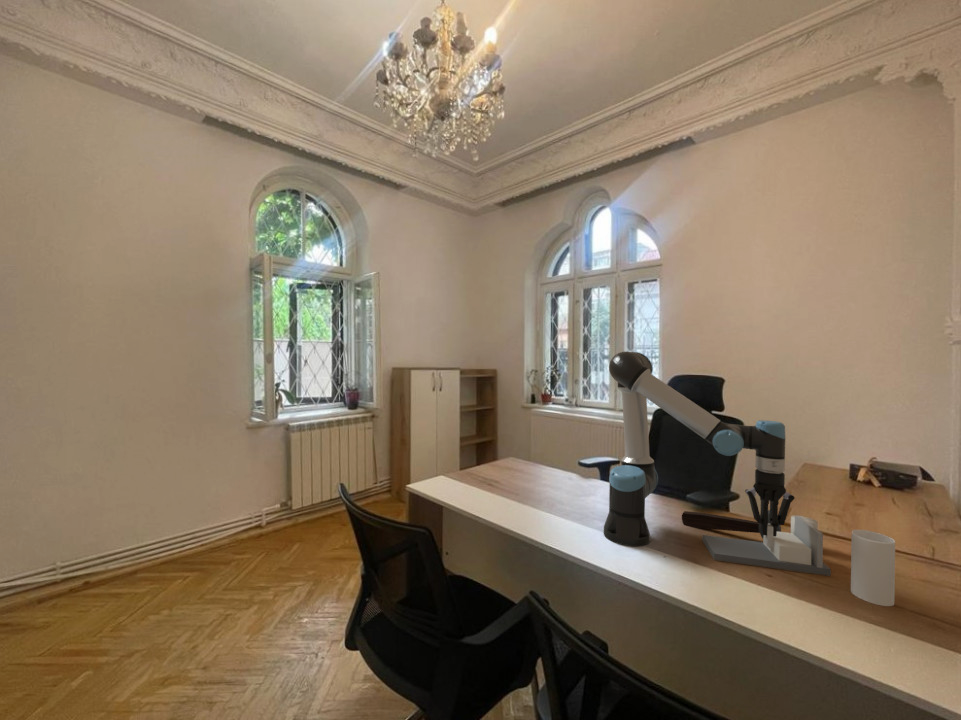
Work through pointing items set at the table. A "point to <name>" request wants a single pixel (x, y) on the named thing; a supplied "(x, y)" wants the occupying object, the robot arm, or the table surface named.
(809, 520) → the cream white shapes
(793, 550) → the carton
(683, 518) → the hammer
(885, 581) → the cup
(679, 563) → the table surface
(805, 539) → the grey base with uprights
